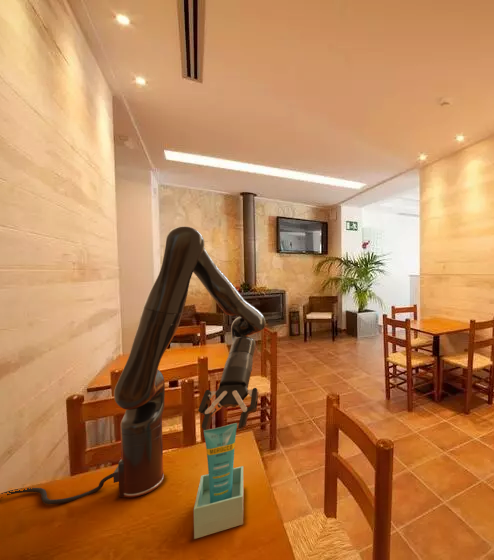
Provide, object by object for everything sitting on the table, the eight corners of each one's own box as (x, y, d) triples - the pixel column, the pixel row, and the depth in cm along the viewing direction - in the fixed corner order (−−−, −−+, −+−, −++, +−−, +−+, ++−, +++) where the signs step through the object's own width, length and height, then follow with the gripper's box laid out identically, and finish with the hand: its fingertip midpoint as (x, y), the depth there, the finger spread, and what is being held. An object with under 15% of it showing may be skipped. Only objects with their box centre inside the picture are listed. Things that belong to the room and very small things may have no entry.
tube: (205, 512, 72) (204, 434, 72) (204, 499, 76) (202, 425, 76) (239, 500, 77) (238, 426, 76) (236, 488, 81) (235, 418, 80)
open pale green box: (194, 539, 69) (193, 509, 68) (201, 501, 80) (201, 475, 80) (243, 524, 73) (242, 496, 73) (243, 490, 84) (243, 465, 84)
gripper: (207, 366, 85) (188, 427, 74) (260, 364, 87) (248, 423, 76) (215, 377, 90) (198, 436, 79) (265, 375, 92) (255, 432, 81)
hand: (223, 430), depth 78 cm, fingers open, 8 cm apart
